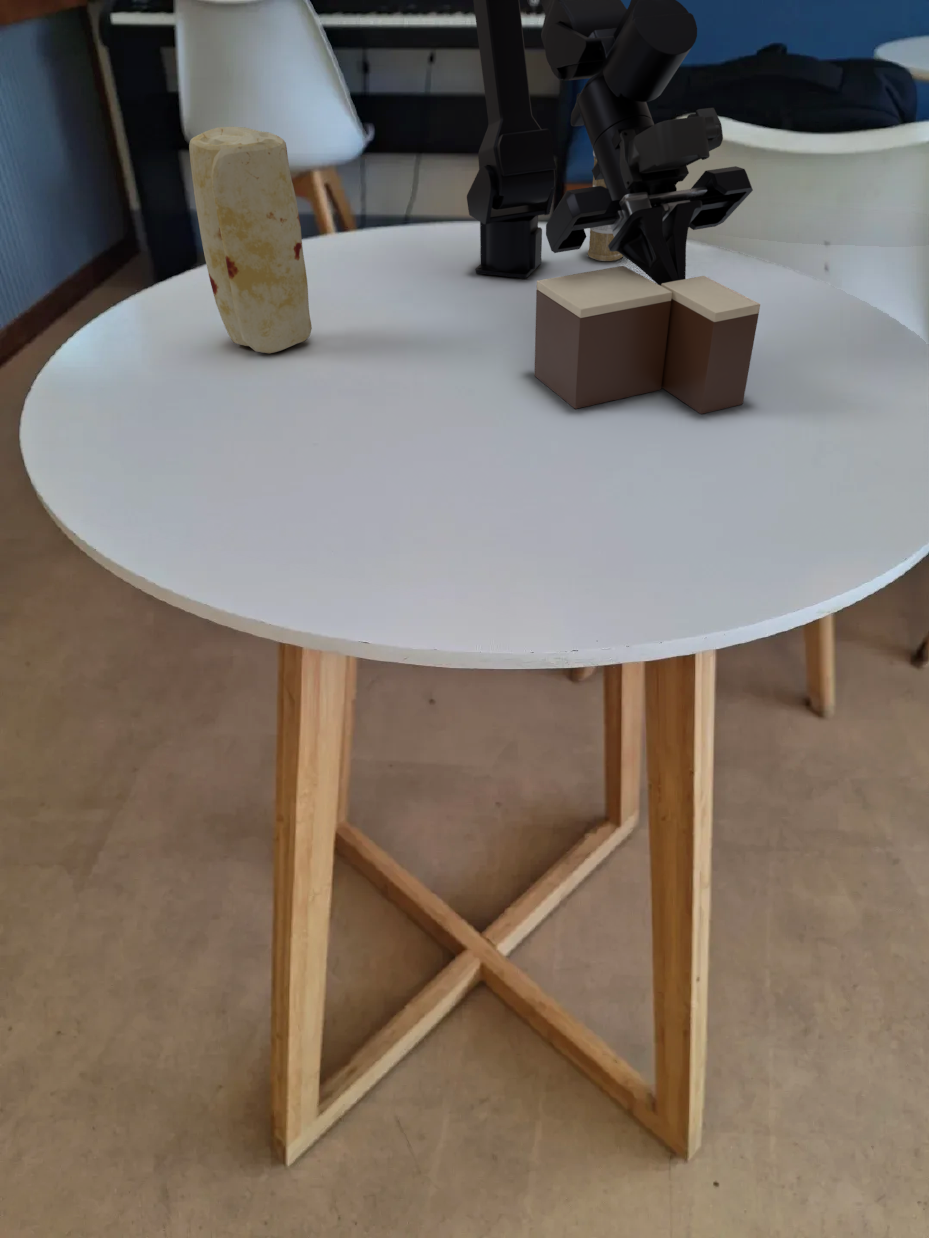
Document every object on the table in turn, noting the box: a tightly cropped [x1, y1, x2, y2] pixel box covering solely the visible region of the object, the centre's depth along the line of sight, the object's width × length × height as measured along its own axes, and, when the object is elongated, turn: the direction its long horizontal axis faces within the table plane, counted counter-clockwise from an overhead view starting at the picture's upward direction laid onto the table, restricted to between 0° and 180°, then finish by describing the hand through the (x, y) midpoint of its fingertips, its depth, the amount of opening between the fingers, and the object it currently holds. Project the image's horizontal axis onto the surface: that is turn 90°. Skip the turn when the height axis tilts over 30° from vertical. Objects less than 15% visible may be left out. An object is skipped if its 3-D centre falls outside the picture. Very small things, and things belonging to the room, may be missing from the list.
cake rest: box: [533, 265, 672, 410], centre depth 84 cm, size 8×9×9 cm
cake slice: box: [661, 275, 761, 415], centre depth 82 cm, size 8×4×9 cm, turn 24°
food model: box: [188, 126, 313, 355], centre depth 90 cm, size 10×7×20 cm
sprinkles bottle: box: [587, 150, 624, 262], centre depth 112 cm, size 5×5×14 cm
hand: (679, 295), depth 84 cm, fingers closed, pressing on cake slice
